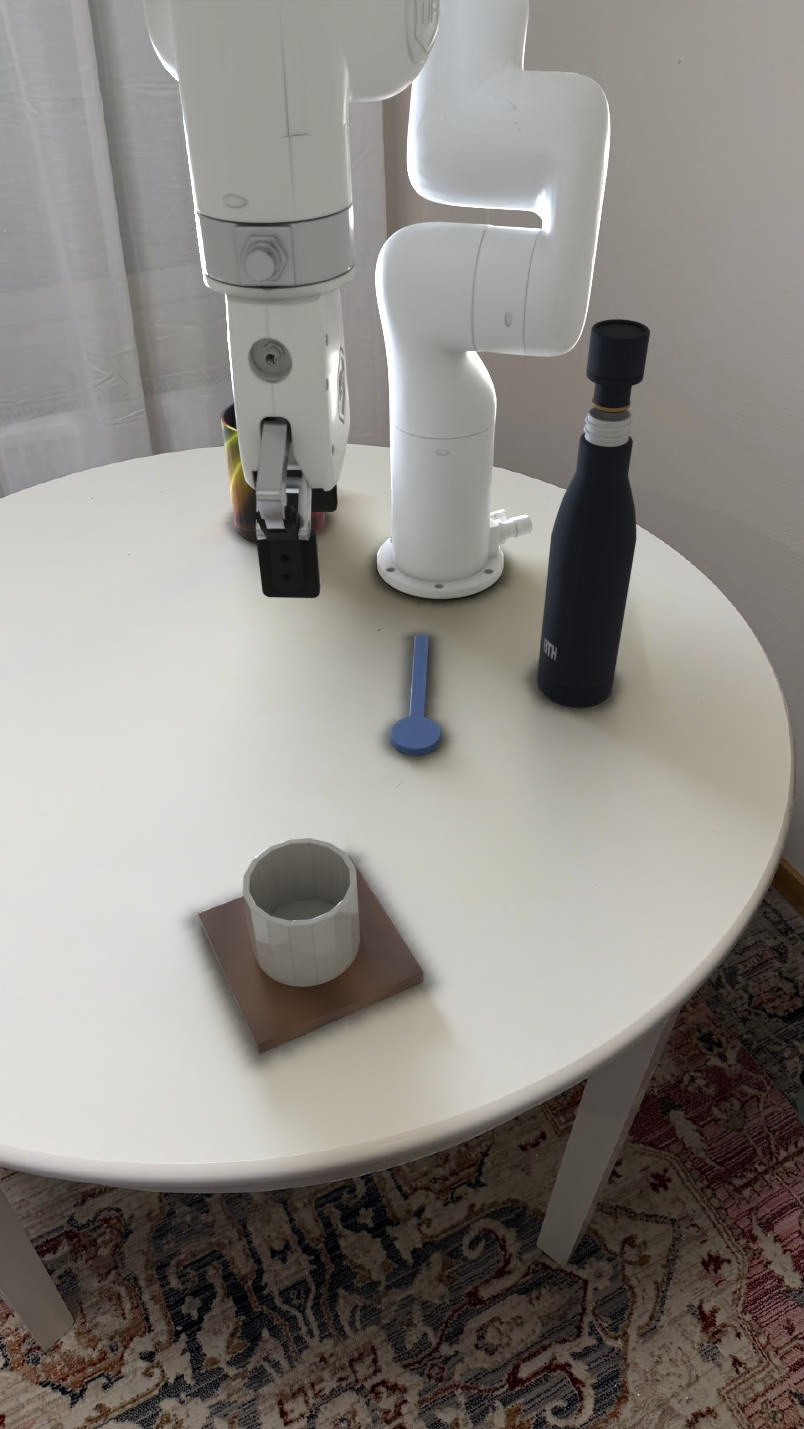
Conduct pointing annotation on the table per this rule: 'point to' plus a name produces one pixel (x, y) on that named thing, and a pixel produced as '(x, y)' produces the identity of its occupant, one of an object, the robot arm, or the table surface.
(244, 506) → the mug
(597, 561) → the insulated water bottle
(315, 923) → the pot
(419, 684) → the spoon
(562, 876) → the table surface
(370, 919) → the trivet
